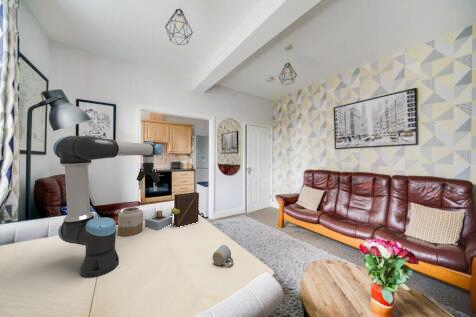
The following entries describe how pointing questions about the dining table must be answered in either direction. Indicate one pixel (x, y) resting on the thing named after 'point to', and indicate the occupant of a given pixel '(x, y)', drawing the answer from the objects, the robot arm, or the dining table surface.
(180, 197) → the book
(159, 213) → the dowel
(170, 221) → the socket block
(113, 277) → the dining table surface
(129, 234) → the vase
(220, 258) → the ceramic mug
